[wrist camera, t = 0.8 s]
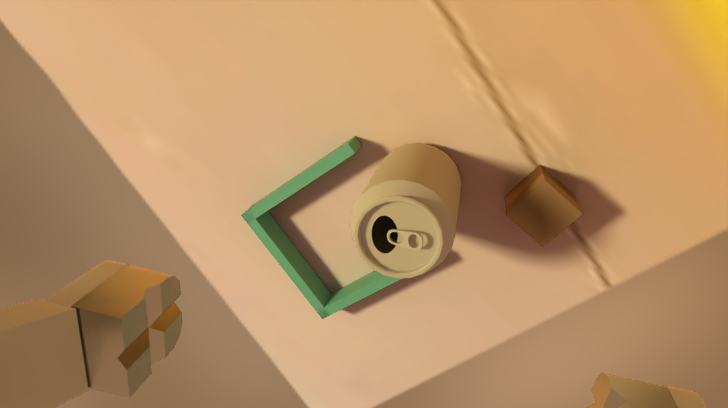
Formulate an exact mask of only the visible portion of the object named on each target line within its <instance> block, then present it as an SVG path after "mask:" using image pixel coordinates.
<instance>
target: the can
mask: <svg viewBox="0 0 728 408" xmlns="http://www.w3.org/2000/svg"><path fill="white" fill-rule="evenodd" d="M460 194H461V178H460V174H459V171H458V169H457V167H456V165H455V163H454V162H453V161H452V159H451V158H450V157H449V156H448V155H447V154H446V153H445V152H443V151H441V150H440V149H438V148H436V147H434V146H431V145H426V144H422V143H415V144H406V145H403V146H401V147H399V148H396V149H394V150H393V151H392V152H391V153H390V154H388V155H387V156H386V157H385V158H384V159H383V161H382V163H381V164H380V166H379V167H378V169H377V170H376V172H375V174H374V175H373V177H372V178H371V180H370V181H369V183H368V184H367V186H366V188H365V189H364V191H363V192H362V194H361V195H360V197H359V199H358V201H357V202H356V204H355V206H354V208H353V210H352V214H351V220H350V229H351V234H352V240H353V241H354V243H355V246H356V248H357V250H358V252H359V254H360V256H361V258H362V259H363V260H364V261H365V262H366V263H367V264H368V265H369V266H370V267H371V268H372V269H374V270H375V271H377V272H379V273H381V274H382V275H385V276H389V277H393V278H413V277H416V276H419V275H422V274H424V273H426V272H428V271H431V270H432V269H434V268H435V267H436V266H438V265H439V264H441V263H442V262H443V261H444V259H445V258H446V257H447V255H448V254H449V252H450V251H451V249H452V245H453V241H454V238H455V232H456V225H457V217H458V210H459V202H460Z"/></svg>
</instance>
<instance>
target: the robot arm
mask: <svg viewBox="0 0 728 408" xmlns="http://www.w3.org/2000/svg"><path fill="white" fill-rule="evenodd" d="M180 295H181V290H180V281H179V280H178V279H177V278H176V277H175V276H173V275H169V274H165V273H161V272H157V271H153V270H148V269H144V268H141V267H137V266H131V265H127V264H124V263H119V262H115V261H103V262H101V263H100V264H98V265H97V266H95V267H94V268H92V269H91V270H89V271H88V272H86V273H85V274H83V275H82V276H80V277H79V278H77V279H76V280H74V281H73V282H71V283H70V284H68V285H67V286H65V287H64V288H62V289H61V290H59V291H58V292H57V293H55V294H54V295H52V296H51V297H49V298H48V299H46V300H45V301H44V300H39V299H36V300H32V301H28V302H24V303H21V304H17V305H13V306H9V307H6V308H2V309H0V408H55V407H58V406H59V405H61V404H63V403H65V402H67V401H69V400H71V399H73V398H75V397H77V396H79V395H81V394H83V393H84V392H87V391H88V390H89V389H88V388H91V389H95V390H99V391H103V392H107V393H111V394H116V395H120V396H124V397H128V398H130V397H131V396H132V395H133V394H134V393H135V391H136V390H137V389H138V388H139V387H140V386H141V385H142V384H143V383H144V382H145V380H146V379H147V378H148V377H149V376H150V375H151V374H152V368H151V367H152V365H151V364H153V363H155V362H157V361H159V360H162V359H164V358H166V357H167V356H168V355H169V353H170V352H171V351H172V350H173V349H174V347H175V345H176V343H177V341H178V338H179V336H180V333H181V328H182V312H181V311H180V309H179V308H178V306H177V305H176V304H175V301H176V300H177V299H178V298H179V296H180ZM592 393H593V397H594V401H595V403H593V404H592V405H590V406H588V407H587V408H707V407H706V406H705V404H704V402H703V400H702V399H701V397H700V396H699V395H698V394H697V393H695V392H694V391H690V390H684V389H679V388H674V387H669V386H664V385H662V386H659V385H654V384H650V383H646V382H641V381H637V380H632V379H627V378H623V377H619V376H614V375H609V374H605V373H600V374H599V375H598V377H597V378H596V380H595V382H594V385H593V387H592Z"/></svg>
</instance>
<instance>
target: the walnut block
mask: <svg viewBox="0 0 728 408" xmlns="http://www.w3.org/2000/svg"><path fill="white" fill-rule="evenodd" d="M505 205H506V215H507V216H509V217H510V218H511V219H512V220H513V221H514V222H515V223H516V224H518V225H519V226H520V227H521V228H522V229H523V230H524V231H526V232H527V233H528V234H529V235H530V236H531V237H532V238H534V239H535V240H536V241H537V242H538V243H539V244H540V245H541V246H544V245H546V244H547V243H548V242H549V241H551V240H552V239H553V238H554V237H555V236H557V235H558V234H559V233H560V232H562V231H563V230H564V229H565V228H567V227H568V226H569V225H570V224H571V223H573V222H574V221H575V220H576V219H578V218H579V217H580V216H581V215H582V214H583V213H582V211H581V209H580V207H579V204H578V202H577V200H576V198H575V196H574V195H573V194H572V193H571V192H570V191H569V190H568V189H567V188H565V187H564V186H563V185H562V184H561V183H560V182H559V181H558V180H557V179H555V178H554V177H553V176H552V175H551V174H550V173H549V172H548V171H546V170H545V169H544V168H543V167H542V166H541V165H539V166H538V167H537V168H536V169H535V170H534V171H533V172H531V173H530V174H529V175H528V176H527V177H526V178H525V179H524V180H523V181H522V182H520V183H519V184H518V185H517V186H516V187H515V188H514V189H513V190H512V191H511V192H510V193H508V194H507V195H506V196H505Z"/></svg>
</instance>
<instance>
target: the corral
mask: <svg viewBox="0 0 728 408" xmlns="http://www.w3.org/2000/svg"><path fill="white" fill-rule="evenodd" d="M361 146H362V145H361V144H360V142H359V141H358V139H357V138H356V137H353V138H352V139H350V140H349V141H347V142H346V143H344V144H343V145H341V146H340V147H338V148H337V149H335V150H334V151H332V152H331V153H329V154H328V155H326V156H325V157H324V158H322V159H321V160H319V161H318V162H316V163H315V164H313V165H312V166H310V167H309V168H307V169H306V170H304V171H303V172H301V173H300V174H298V175H297V176H295V177H294V178H292V179H291V180H289V181H288V182H287V183H285V184H284V185H282V186H281V187H279V188H278V189H276V190H275V191H273V192H272V193H270V194H269V195H267V196H266V197H264V198H263V199H261V200H260V201H258V202H257V203H255V204H254V205H253V206H251V207H250V208H249V209H248V210H247V211H246V212H245V213H243V214H242V215H241V216H242V217H243V218H244V219H245V221H246V222H247V223H248V225H249V226H250V227H251V228H252V230H253V231H254V232H255V234H256V235H257V236H258V237H259V239H260V240H261V241H262V242H263V244H264V245H265V246H266V248H267V249H268V250H269V251H270V253H271V254H272V255H273V256H274V258H275V259H276V260H277V262H278V263H279V264H280V265H281V267H282V268H283V269H284V271H285V272H286V273H287V274H288V276H289V277H290V278H291V279H292V281H293V282H294V283H295V285H296V286H297V287H298V288H299V290H300V291H301V292H302V294H303V295H304V296H305V297H306V299H307V300H308V301H309V302H310V304H311V305H312V306H313V308H314V309H315V310H316V311H317V313H318V314H319V315H320V317H321V318H322V319H323V318H325V317H327V316H329V315H331V314H333V313H335V312H337V311H339V310H341V309H343V308H345V307H347V306H349V305H351V304H353V303H355V302H357V301H359V300H361V299H363V298H365V297H367V296H369V295H371V294H373V293H375V292H377V291H379V290H381V289H383V288H385V287H387V286H389V285H391V284H393V283H395V282H397V281H398V280H400V279H402V278H393V277H389V276H385V275H382V274H381V273H379V272H377V271H373V272H372V273H370V274H368V275H366V276H364V277H362V278H360V279H358V280H356V281H355V282H353V283H351V284H349V285H347V286H345V287H343V288H341V289H339V290H337V291H336V292H334V293H332V294H331V293H330V291H329V290H328V289H327V287H326V286H325V285H324V284H323V282H322V281H321V280H320V278H319V277H318V276H317V274H316V273H315V272H314V271H313V269H312V268H311V267H310V265H309V264H308V263H307V261H306V260H305V259H304V258H303V256H302V255H301V254H300V252H299V251H298V250H297V248H296V247H295V246H294V245H293V243H292V242H291V241H290V239H289V238H288V237H287V235H286V234H285V233H284V232H283V230H282V229H281V228H280V226H279V225H278V224H277V222H276V221H275V220H274V219H273V217H272V216H271V215H270V213H269V212H268V210H270V209H271V208H273V207H274V206H276V205H277V204H279V203H280V202H282V201H283V200H285V199H286V198H288V197H289V196H291V195H292V194H294V193H295V192H297V191H298V190H300V189H301V188H303V187H304V186H306V185H308V184H309V183H311V182H312V181H314V180H315V179H317V178H318V177H320V176H321V175H323V174H324V173H326V172H327V171H329V170H330V169H332V168H333V167H335V166H336V165H338V164H339V163H341V162H342V161H344V160H345V159H347V158H349V157H350V156H352V155H353V154H355V153H356V151H357V150H358V149H359V148H360V147H361Z"/></svg>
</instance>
